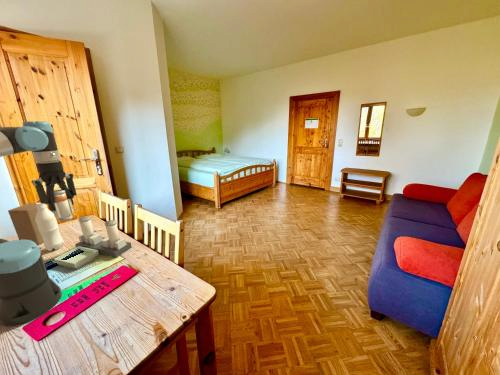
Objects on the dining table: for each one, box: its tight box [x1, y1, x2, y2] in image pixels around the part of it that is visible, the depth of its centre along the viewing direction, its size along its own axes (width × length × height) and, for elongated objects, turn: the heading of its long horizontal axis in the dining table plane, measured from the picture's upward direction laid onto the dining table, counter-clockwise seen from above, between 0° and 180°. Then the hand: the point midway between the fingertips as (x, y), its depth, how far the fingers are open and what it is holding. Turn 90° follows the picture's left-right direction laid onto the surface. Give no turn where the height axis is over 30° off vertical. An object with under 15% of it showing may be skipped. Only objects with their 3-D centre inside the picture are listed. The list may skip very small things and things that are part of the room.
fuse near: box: [104, 219, 121, 249], centre depth 99 cm, size 5×5×13 cm
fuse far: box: [77, 215, 95, 243], centre depth 103 cm, size 5×5×13 cm
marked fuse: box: [54, 189, 74, 223], centre depth 87 cm, size 5×5×13 cm
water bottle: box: [35, 201, 64, 252], centre depth 101 cm, size 7×7×25 cm
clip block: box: [74, 233, 132, 259], centre depth 103 cm, size 9×26×6 cm, turn 73°
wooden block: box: [7, 202, 47, 246], centre depth 110 cm, size 10×10×20 cm
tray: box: [53, 246, 101, 271], centre depth 95 cm, size 10×13×3 cm
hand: (64, 214), depth 88 cm, fingers closed on marked fuse, 4 cm apart
